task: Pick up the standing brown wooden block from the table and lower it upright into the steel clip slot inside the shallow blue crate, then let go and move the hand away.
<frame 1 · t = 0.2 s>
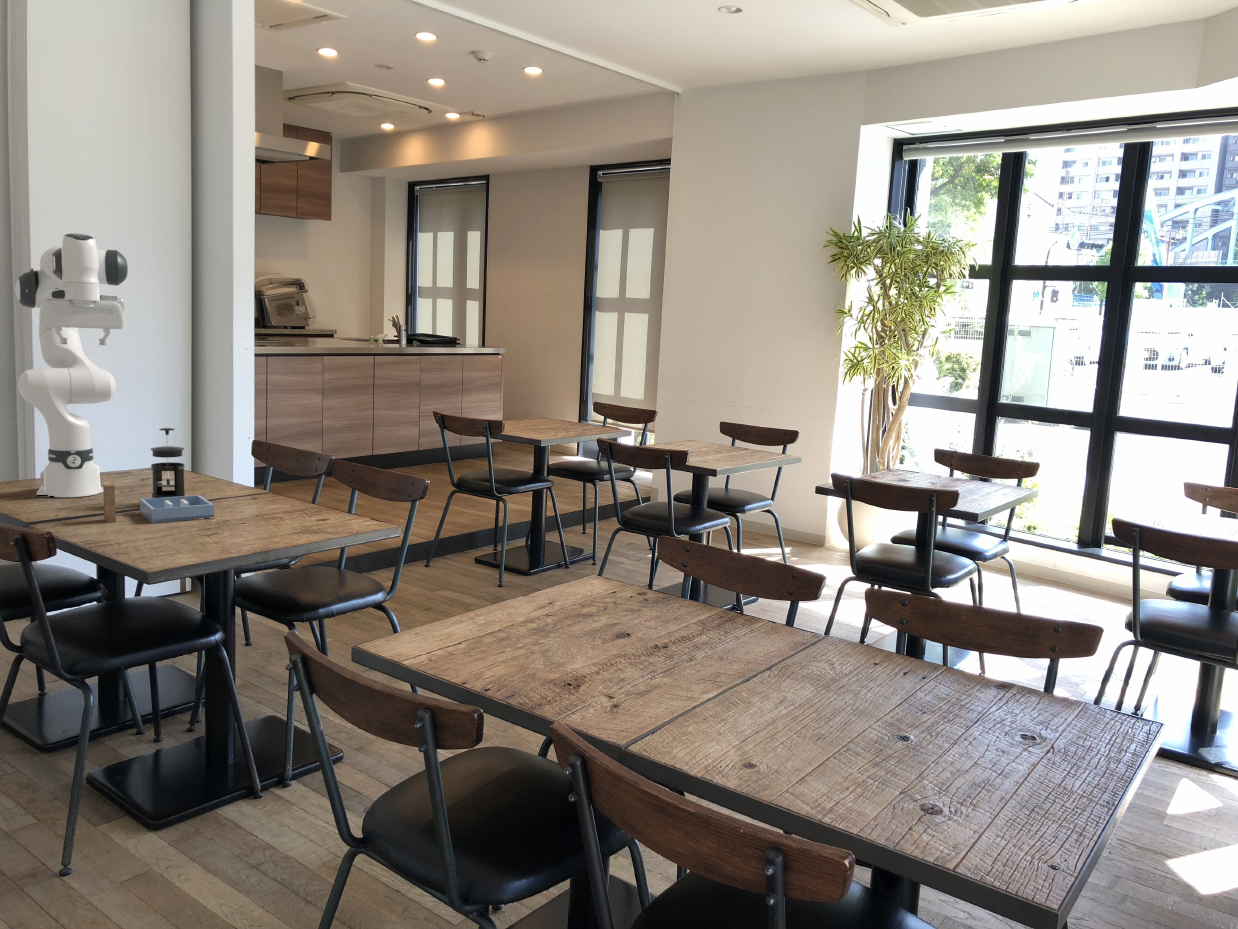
hand: (83, 344, 255), 47 cm above the table, tool pointing down, fingers open, 8 cm apart
french press: (169, 504, 279), on the table
brown wooden block: (110, 520, 253), on the table
shallow blue crate: (176, 515, 264), on the table
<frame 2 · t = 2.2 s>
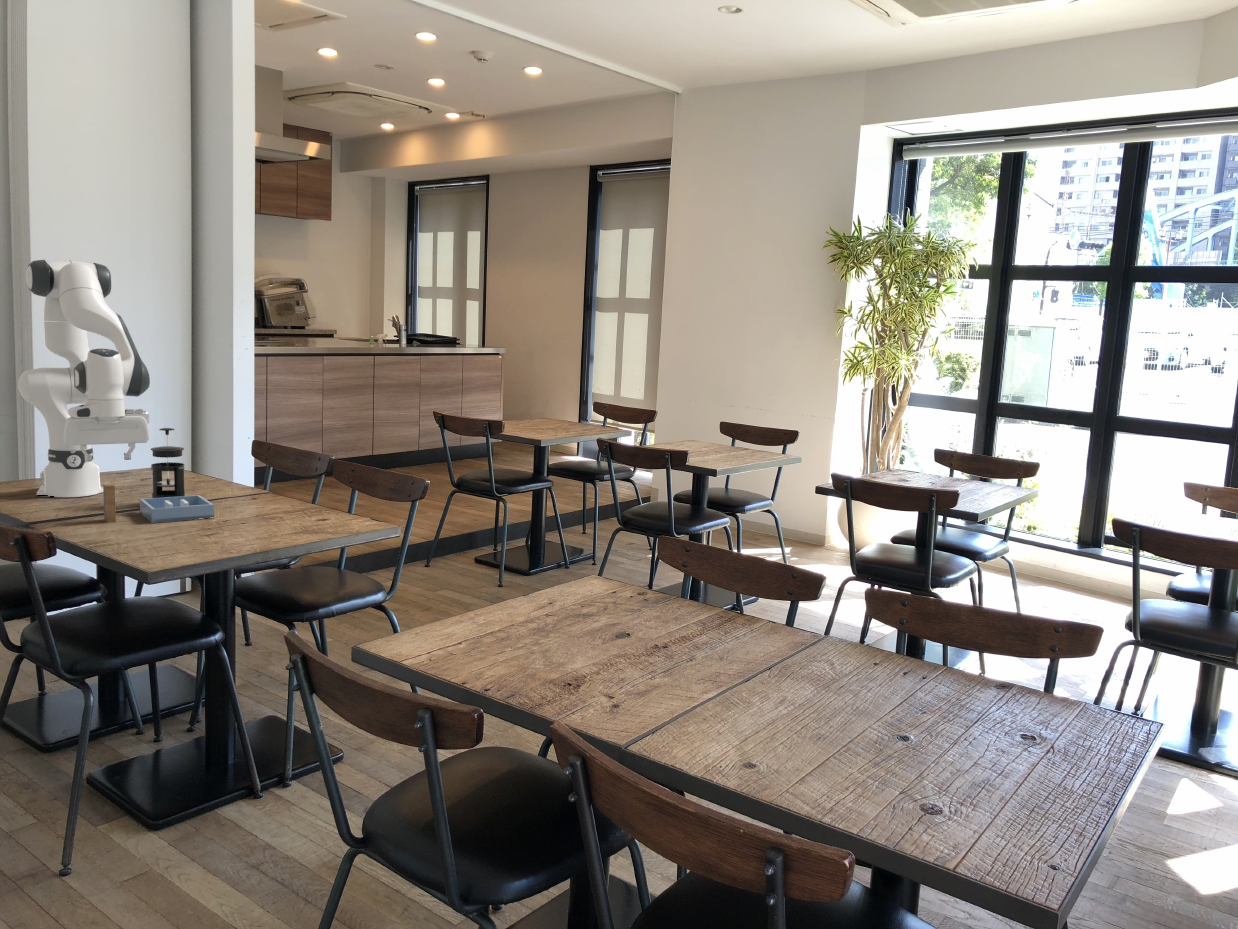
hand: (108, 460, 251), 17 cm above the table, tool pointing down, fingers open, 8 cm apart
nothing on the table moved.
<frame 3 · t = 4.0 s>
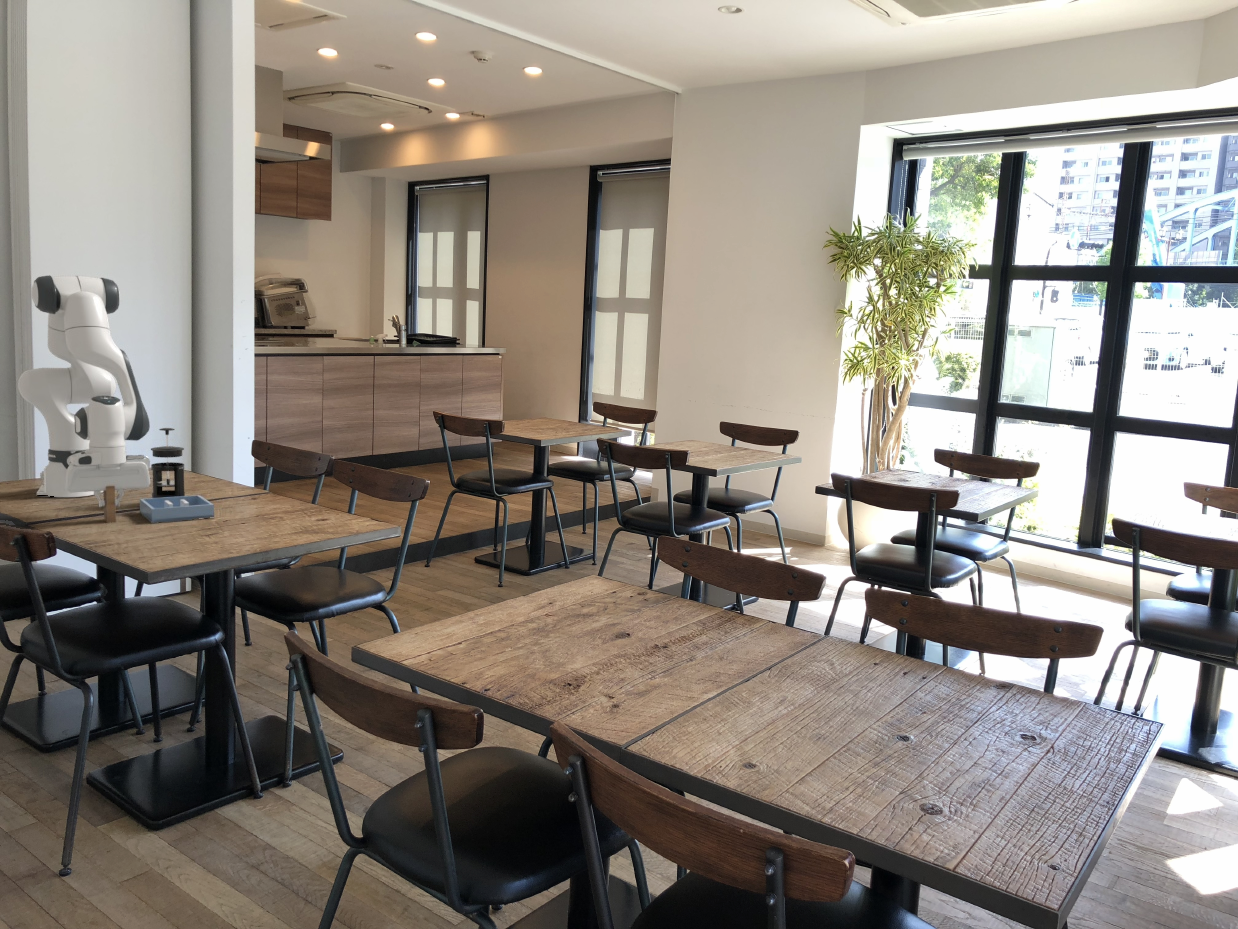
hand: (109, 506, 253), 4 cm above the table, tool pointing down, fingers closed on brown wooden block, 2 cm apart
brown wooden block: (109, 520, 253), on the table, touching gripper
everything else where it was.
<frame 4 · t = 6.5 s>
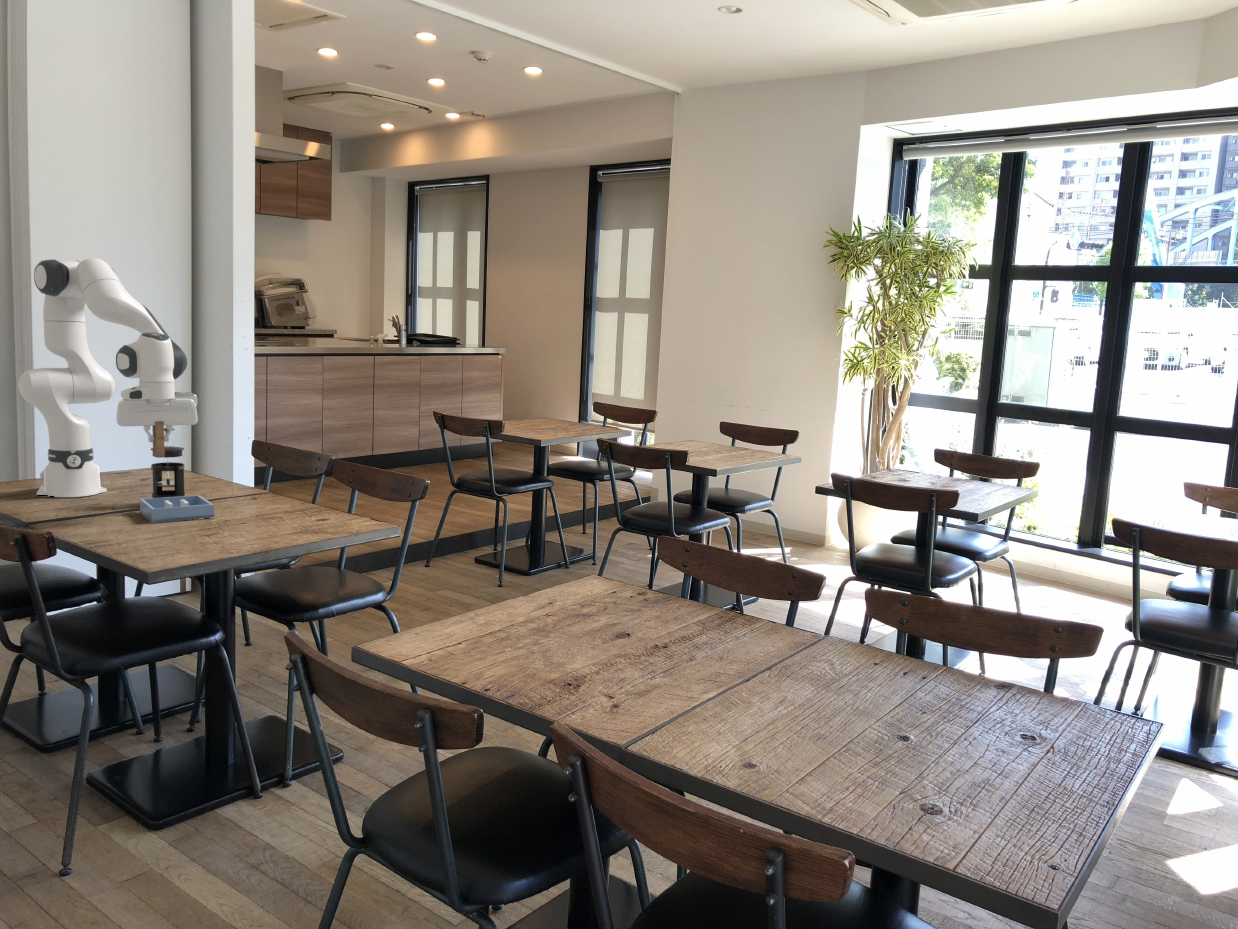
hand: (158, 441, 258), 21 cm above the table, tool pointing down, fingers closed on brown wooden block
brown wooden block: (158, 456, 258), point 17 cm above the table, touching gripper
everything else where it was.
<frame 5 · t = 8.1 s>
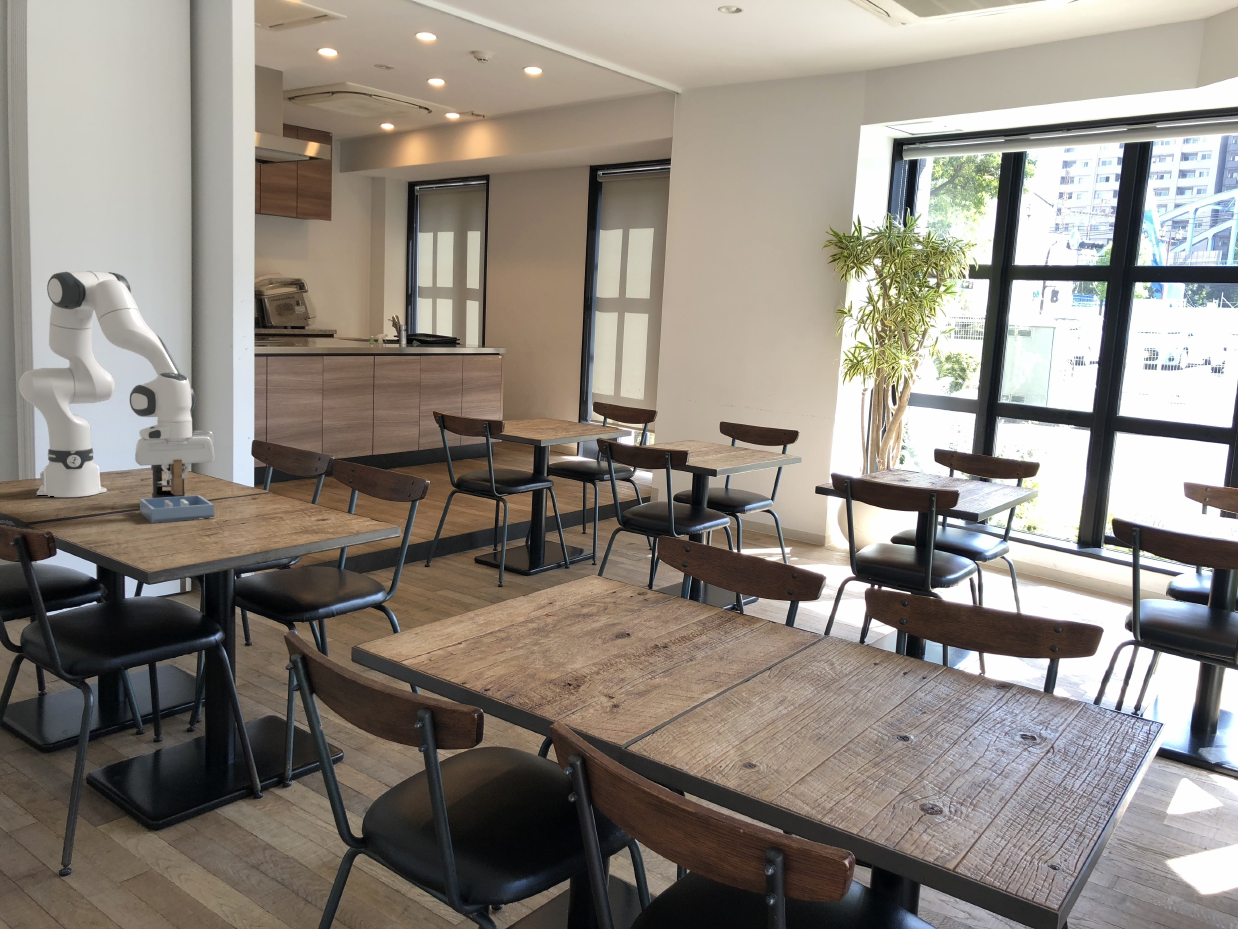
hand: (176, 479, 262), 11 cm above the table, tool pointing down, fingers closed on brown wooden block
brown wooden block: (176, 493, 262), point 6 cm above the table, touching gripper
everything else where it was.
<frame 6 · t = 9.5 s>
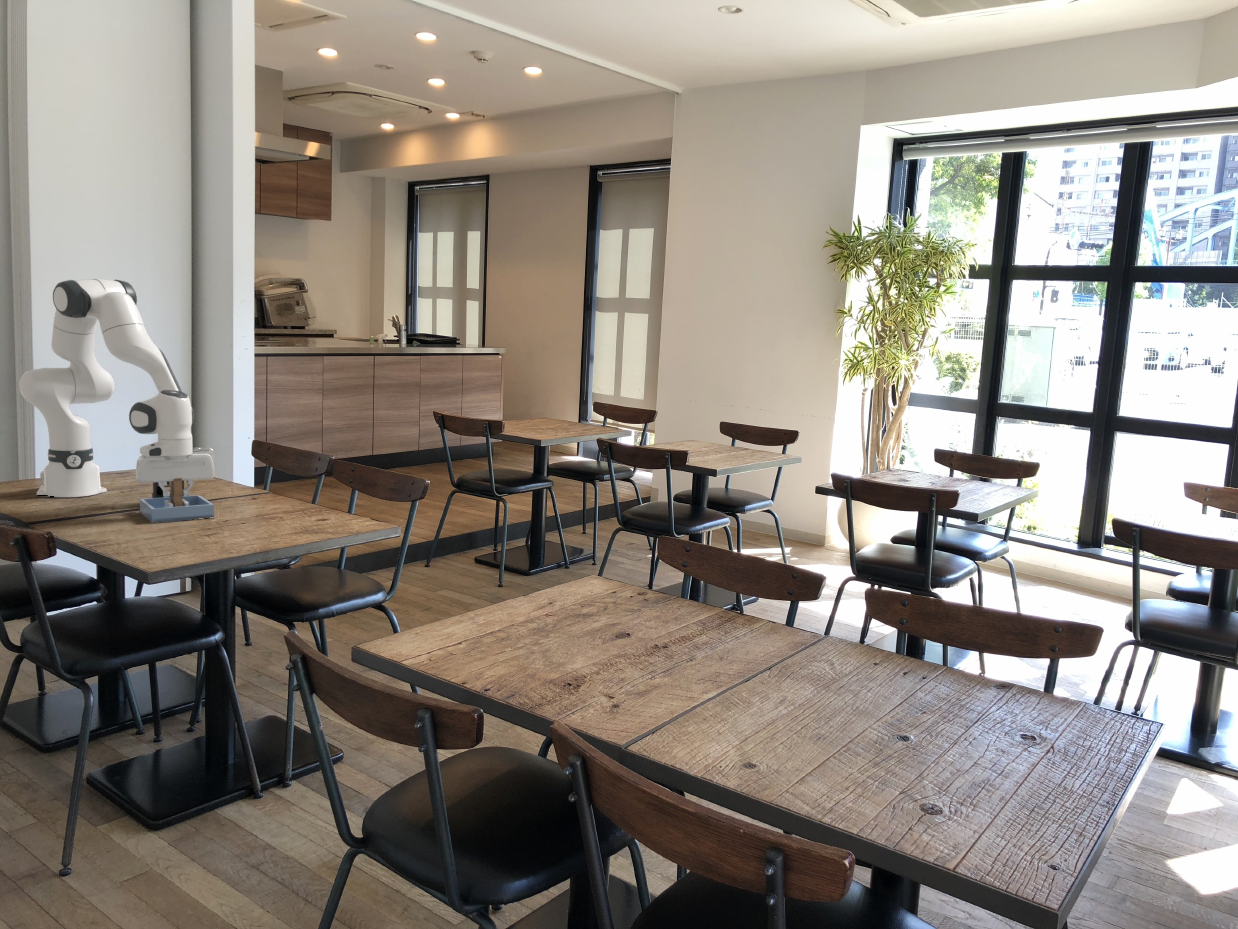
hand: (176, 496, 263), 6 cm above the table, tool pointing down, fingers open, 4 cm apart
brown wooden block: (176, 512, 263), point 1 cm above the table, touching shallow blue crate
everything else where it was.
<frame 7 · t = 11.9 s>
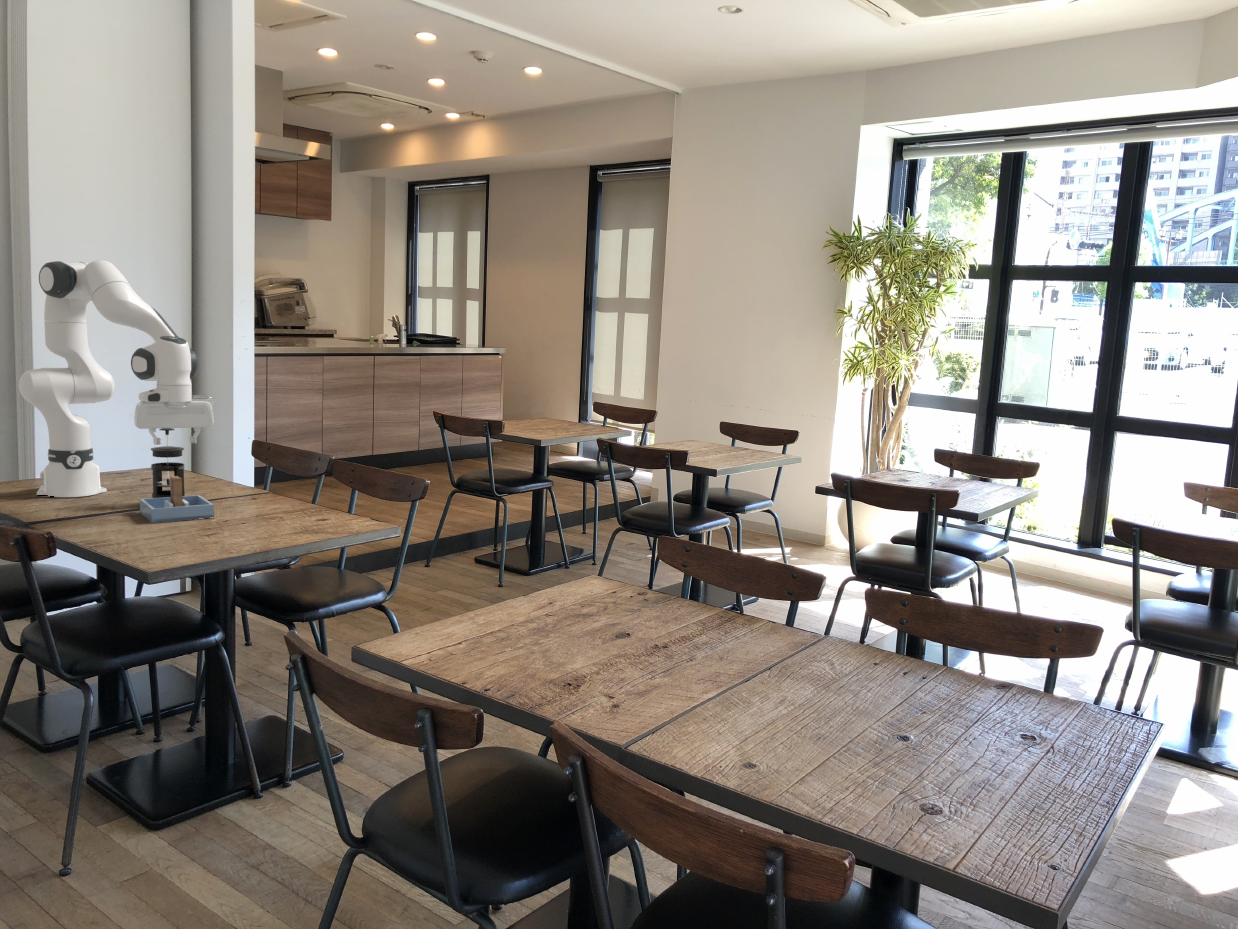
hand: (175, 443, 261), 21 cm above the table, tool pointing down, fingers open, 8 cm apart
nothing on the table moved.
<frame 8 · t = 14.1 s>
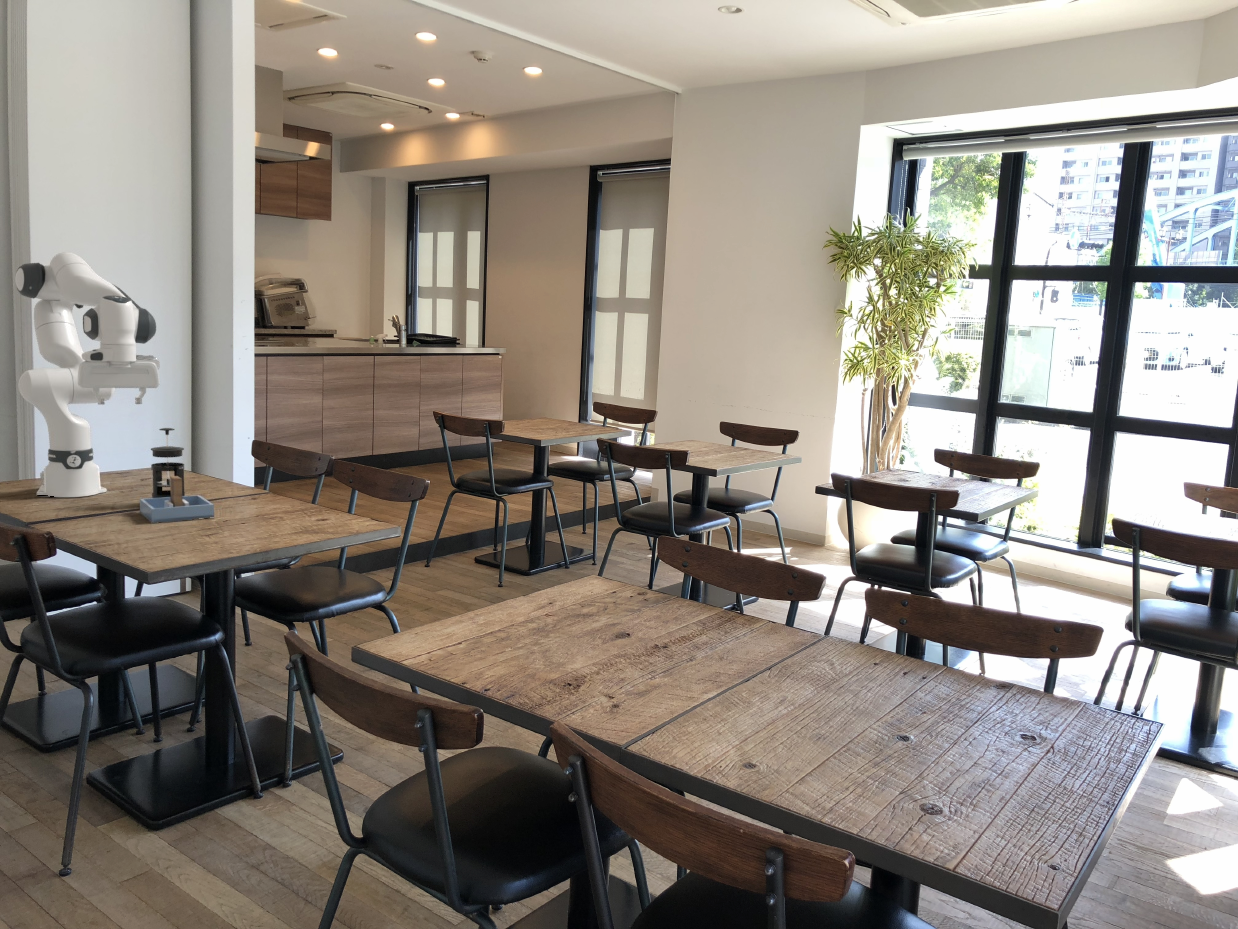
hand: (120, 404, 260), 31 cm above the table, tool pointing down, fingers open, 8 cm apart
nothing on the table moved.
at the end: brown wooden block 0.1 cm off-centre on the shallow blue crate, point 1.0 cm above the shallow blue crate's base; brown wooden block tilted 0°; the gripper is holding nothing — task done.
